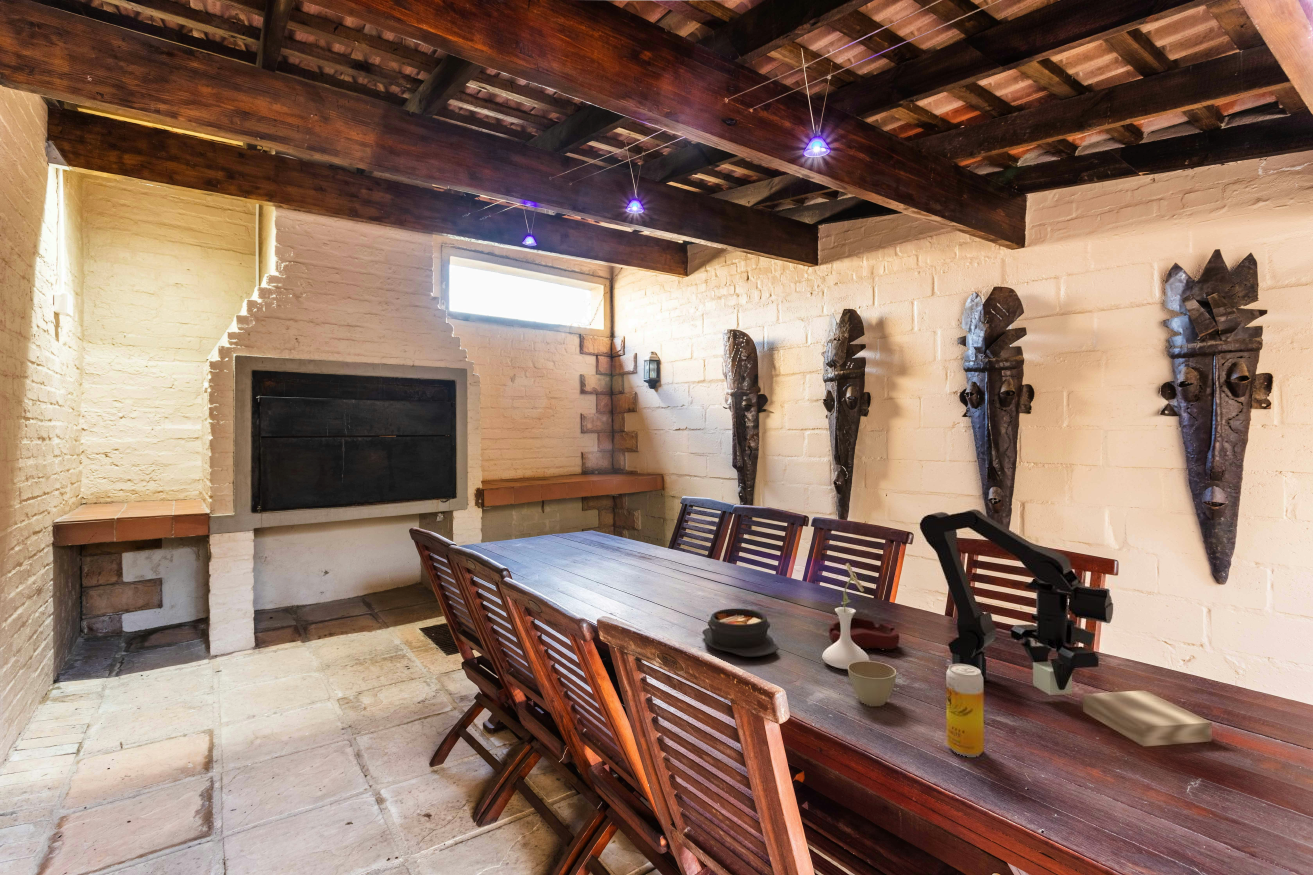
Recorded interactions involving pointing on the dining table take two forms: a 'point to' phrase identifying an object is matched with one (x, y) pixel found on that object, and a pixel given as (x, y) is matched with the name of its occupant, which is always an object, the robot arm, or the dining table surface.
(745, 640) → the casserole
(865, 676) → the flower pot
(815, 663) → the dining table surface
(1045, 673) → the sage block
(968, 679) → the beer can
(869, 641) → the ashtray
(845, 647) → the flower in vase
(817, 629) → the dining table surface
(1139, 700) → the birch base
